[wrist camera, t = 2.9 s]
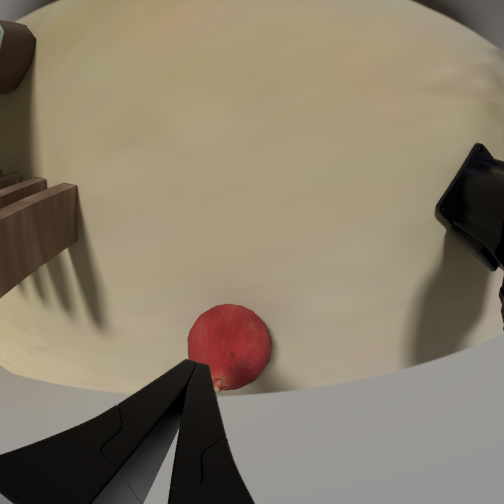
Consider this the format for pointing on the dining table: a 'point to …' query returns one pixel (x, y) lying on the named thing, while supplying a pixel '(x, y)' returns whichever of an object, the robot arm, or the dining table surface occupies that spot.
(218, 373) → the onion
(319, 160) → the dining table surface
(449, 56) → the dining table surface
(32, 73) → the dining table surface
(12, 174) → the domino
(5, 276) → the domino
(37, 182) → the domino
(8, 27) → the beer bottle
